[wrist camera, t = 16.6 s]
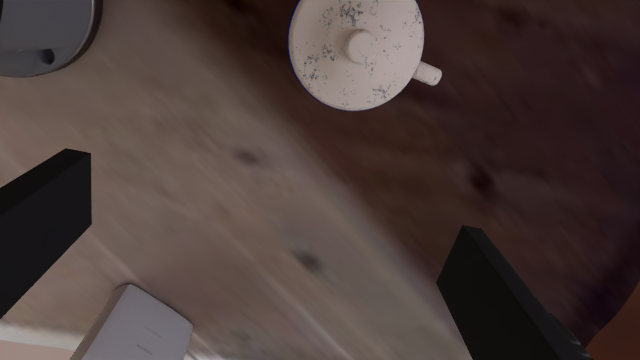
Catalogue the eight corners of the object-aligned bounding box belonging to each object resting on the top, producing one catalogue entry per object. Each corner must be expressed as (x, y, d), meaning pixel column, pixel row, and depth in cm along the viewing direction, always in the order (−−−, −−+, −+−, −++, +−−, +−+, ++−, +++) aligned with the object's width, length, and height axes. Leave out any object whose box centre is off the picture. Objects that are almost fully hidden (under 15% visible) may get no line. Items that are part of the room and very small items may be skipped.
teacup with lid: (276, 65, 34) (263, 91, 23) (314, -44, 30) (319, -73, 20) (396, 114, 36) (434, 159, 25) (444, 17, 32) (512, 21, 22)
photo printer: (201, 325, 46) (166, 428, 34) (178, 343, 47) (138, 449, 36) (129, 275, 42) (65, 372, 31) (106, 297, 44) (37, 397, 32)
